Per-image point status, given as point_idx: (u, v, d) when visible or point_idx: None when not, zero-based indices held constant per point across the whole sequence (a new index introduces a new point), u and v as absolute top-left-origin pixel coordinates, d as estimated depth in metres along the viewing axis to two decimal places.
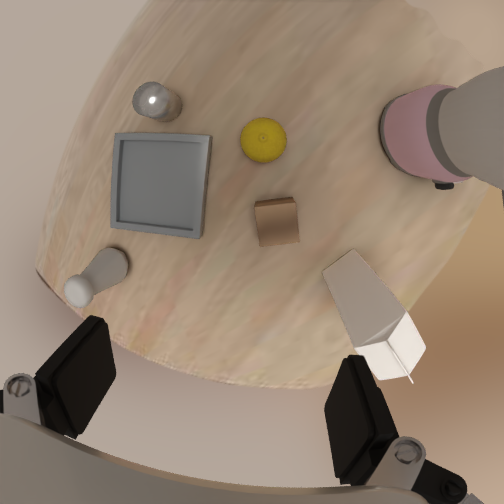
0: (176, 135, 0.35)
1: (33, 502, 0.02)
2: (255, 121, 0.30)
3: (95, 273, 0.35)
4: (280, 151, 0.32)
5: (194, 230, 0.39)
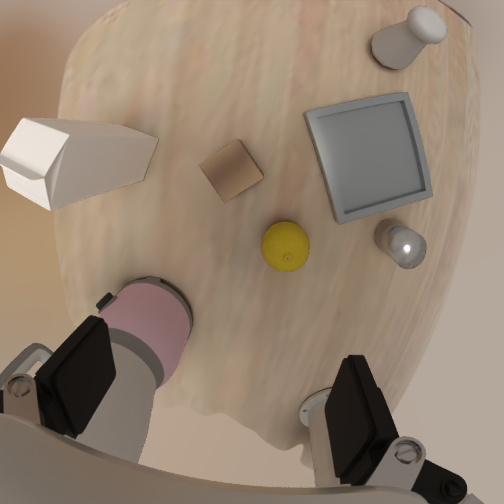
0: (371, 212, 0.33)
1: (33, 502, 0.02)
2: (301, 265, 0.31)
3: (411, 45, 0.20)
4: (264, 246, 0.31)
5: (315, 119, 0.30)
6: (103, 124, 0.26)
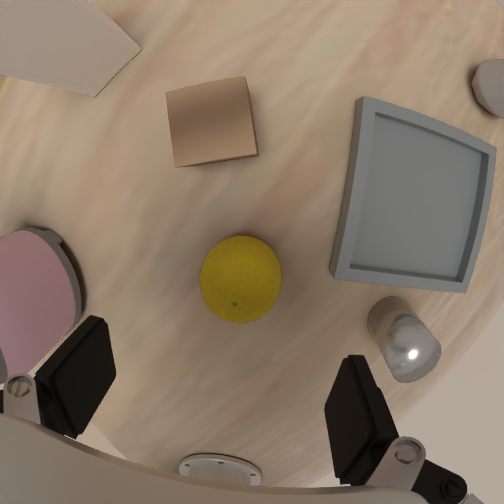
0: (385, 282, 0.21)
1: (33, 502, 0.02)
2: (252, 320, 0.18)
3: None
4: (206, 265, 0.18)
5: (372, 112, 0.18)
6: None
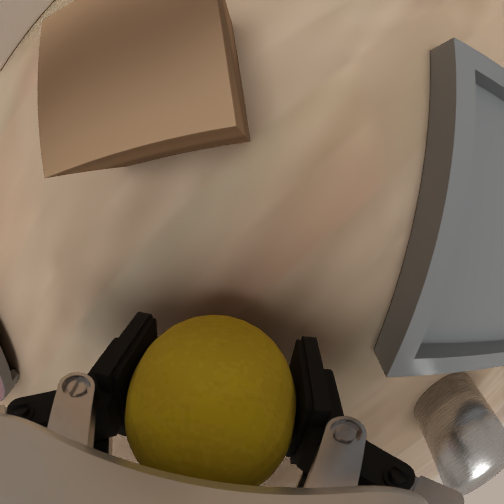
0: (460, 368, 0.10)
1: (33, 502, 0.02)
2: None
3: None
4: (129, 402, 0.07)
5: (471, 69, 0.06)
6: None
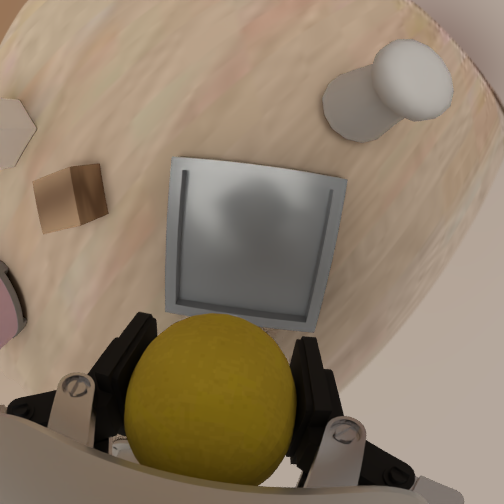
0: None
1: (33, 502, 0.02)
2: None
3: (371, 108, 0.14)
4: (129, 401, 0.07)
5: (179, 171, 0.22)
6: None
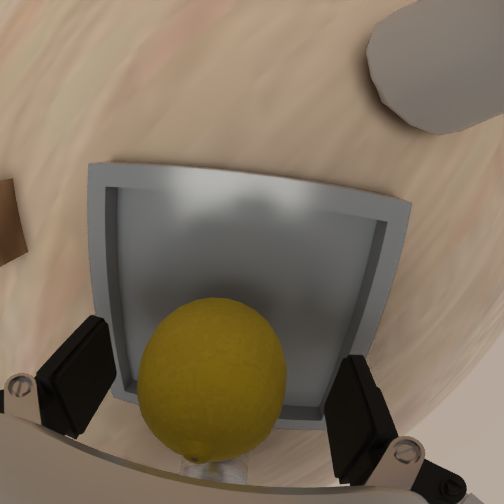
0: None
1: (33, 502, 0.02)
2: None
3: None
4: (143, 371, 0.08)
5: (101, 189, 0.11)
6: None
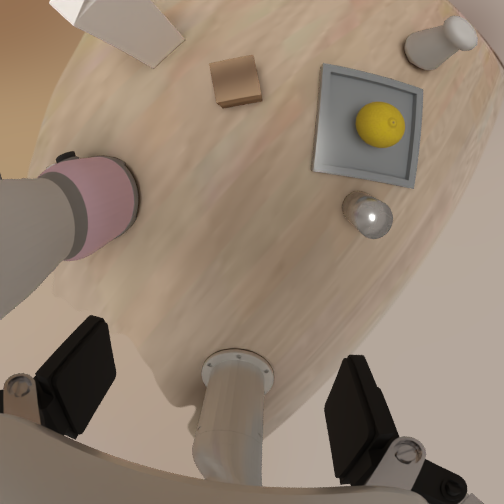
0: (348, 174, 0.33)
1: (33, 502, 0.02)
2: (394, 142, 0.27)
3: (440, 45, 0.21)
4: (369, 108, 0.26)
5: (328, 72, 0.29)
6: None
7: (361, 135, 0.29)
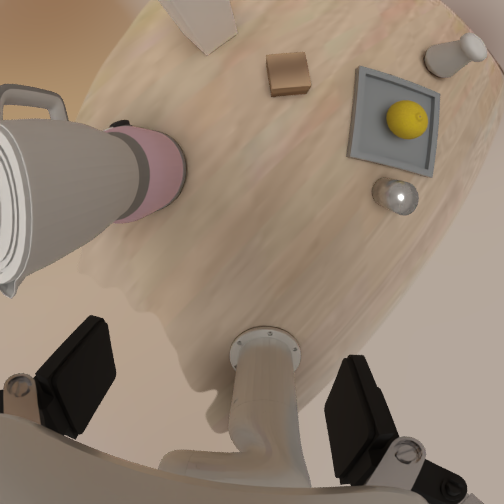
0: (379, 161, 0.37)
1: (33, 502, 0.02)
2: (419, 134, 0.30)
3: (457, 57, 0.24)
4: (399, 105, 0.30)
5: (364, 73, 0.33)
6: None
7: (392, 127, 0.32)
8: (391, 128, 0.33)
